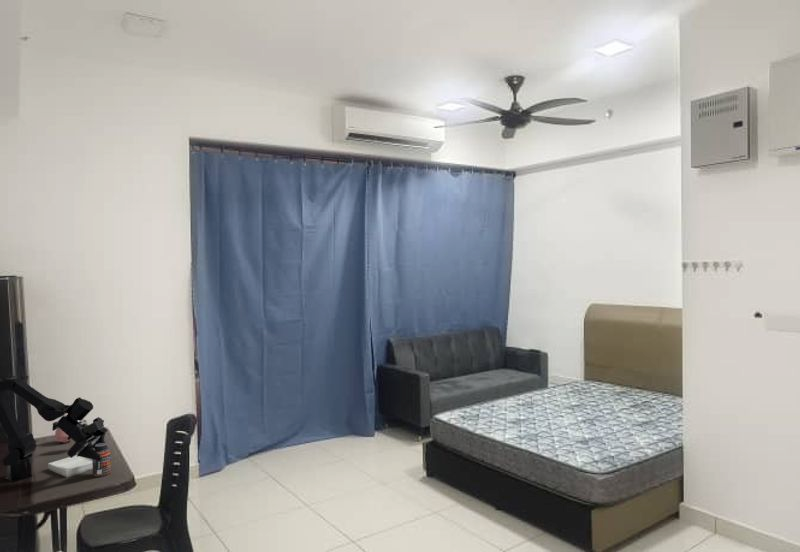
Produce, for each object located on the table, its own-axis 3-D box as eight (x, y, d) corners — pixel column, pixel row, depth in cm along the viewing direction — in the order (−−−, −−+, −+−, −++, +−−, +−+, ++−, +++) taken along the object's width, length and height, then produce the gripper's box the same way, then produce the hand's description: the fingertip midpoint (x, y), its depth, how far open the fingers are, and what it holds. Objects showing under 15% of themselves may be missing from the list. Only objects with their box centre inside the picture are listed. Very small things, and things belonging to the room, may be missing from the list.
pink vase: (76, 438, 248) (74, 412, 248) (74, 442, 242) (73, 416, 241) (56, 441, 245) (54, 414, 245) (54, 446, 238) (52, 419, 238)
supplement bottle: (103, 477, 200) (101, 447, 200) (89, 477, 201) (87, 447, 201) (114, 471, 206) (113, 442, 206) (101, 470, 207) (99, 441, 207)
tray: (67, 477, 201) (66, 470, 201) (48, 469, 210) (48, 463, 210) (107, 464, 214) (107, 458, 214) (88, 457, 222) (88, 451, 222)
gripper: (74, 420, 194) (106, 449, 194) (101, 406, 212) (131, 433, 213) (52, 443, 194) (85, 472, 194) (82, 427, 212) (111, 453, 213)
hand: (104, 456), depth 204 cm, fingers closed on supplement bottle, 6 cm apart
